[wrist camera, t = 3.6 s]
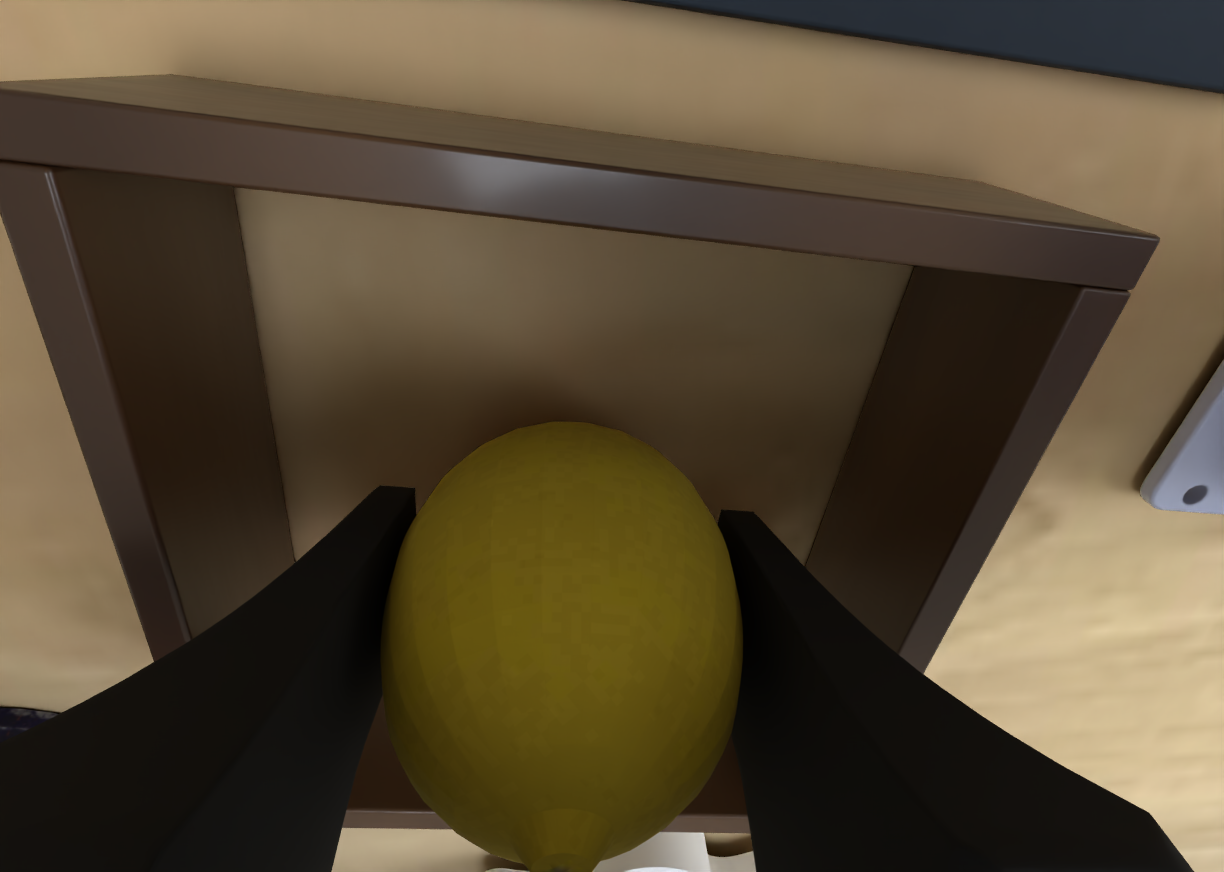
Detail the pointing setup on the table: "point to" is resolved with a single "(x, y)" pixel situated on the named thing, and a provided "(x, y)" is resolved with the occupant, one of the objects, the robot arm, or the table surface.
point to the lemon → (561, 646)
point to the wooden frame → (539, 192)
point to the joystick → (671, 857)
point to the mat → (1023, 31)
